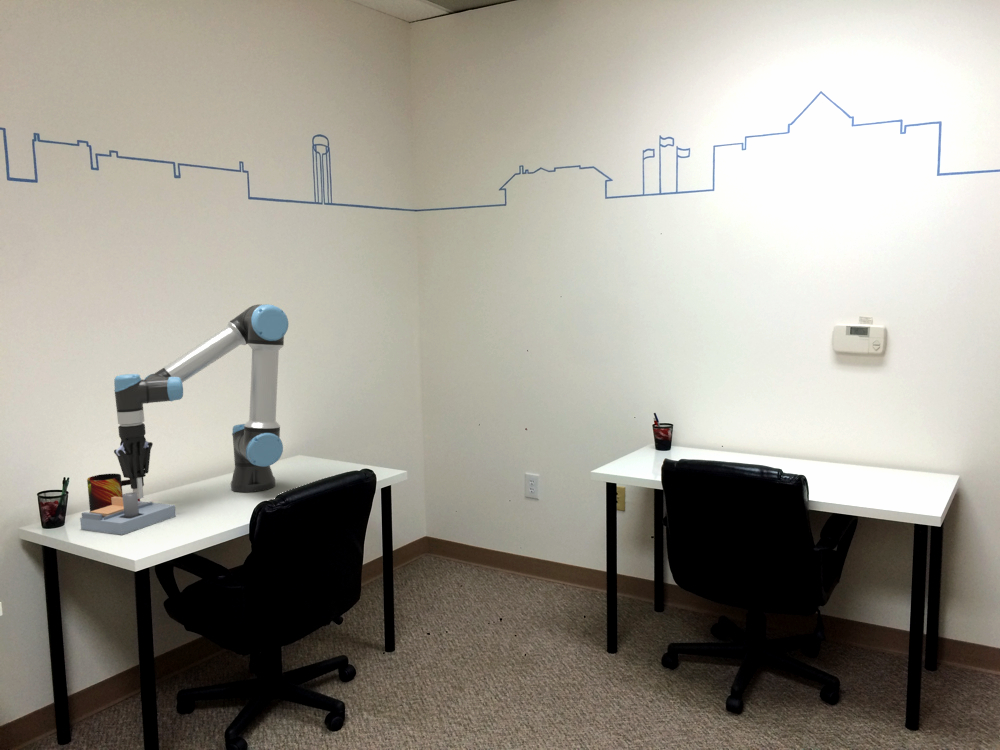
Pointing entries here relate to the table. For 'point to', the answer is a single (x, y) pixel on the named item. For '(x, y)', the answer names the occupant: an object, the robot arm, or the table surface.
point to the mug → (104, 489)
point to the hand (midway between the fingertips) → (138, 497)
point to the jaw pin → (130, 505)
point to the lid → (111, 507)
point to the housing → (127, 519)
